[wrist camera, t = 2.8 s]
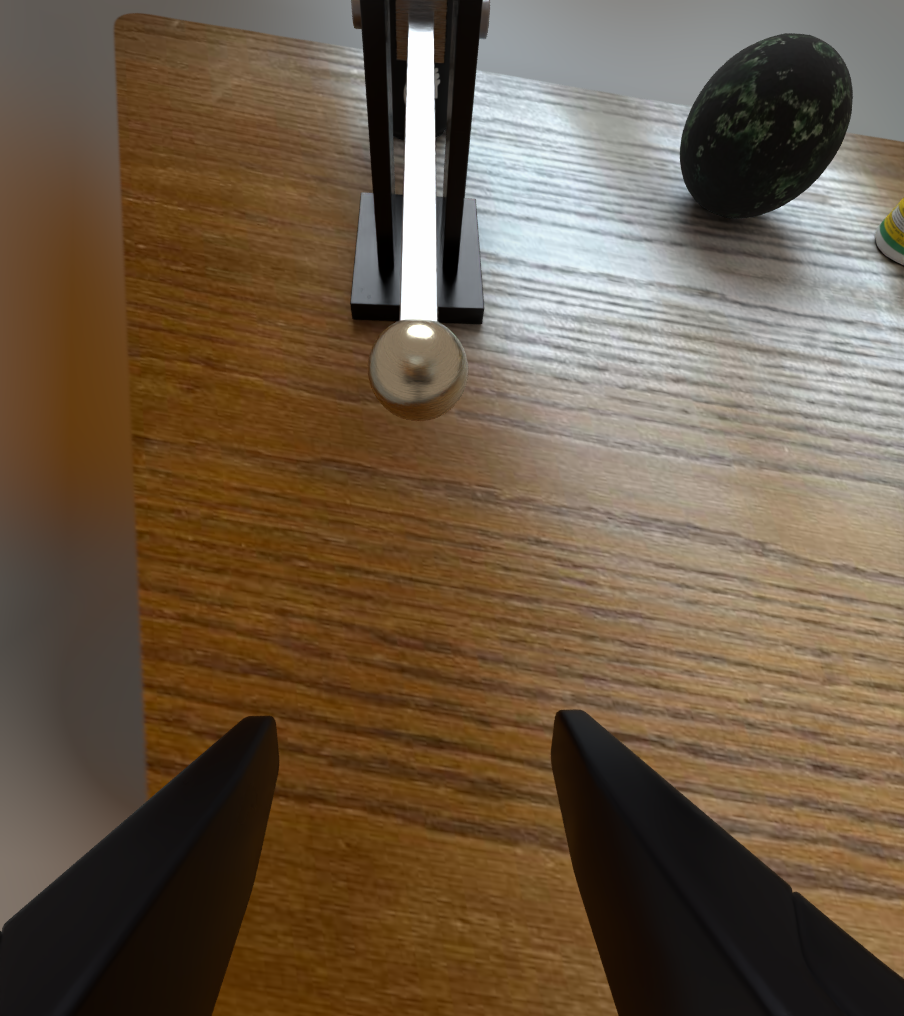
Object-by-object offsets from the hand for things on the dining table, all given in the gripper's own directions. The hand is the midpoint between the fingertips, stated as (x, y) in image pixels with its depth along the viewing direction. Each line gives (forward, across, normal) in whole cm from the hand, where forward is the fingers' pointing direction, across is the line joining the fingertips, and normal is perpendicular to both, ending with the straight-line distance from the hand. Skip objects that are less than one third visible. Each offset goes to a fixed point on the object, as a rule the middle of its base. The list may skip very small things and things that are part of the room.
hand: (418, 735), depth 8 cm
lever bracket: (+30, 0, -11) cm, 32 cm away
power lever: (+16, 0, -12) cm, 20 cm away
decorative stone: (+36, -23, -17) cm, 46 cm away
